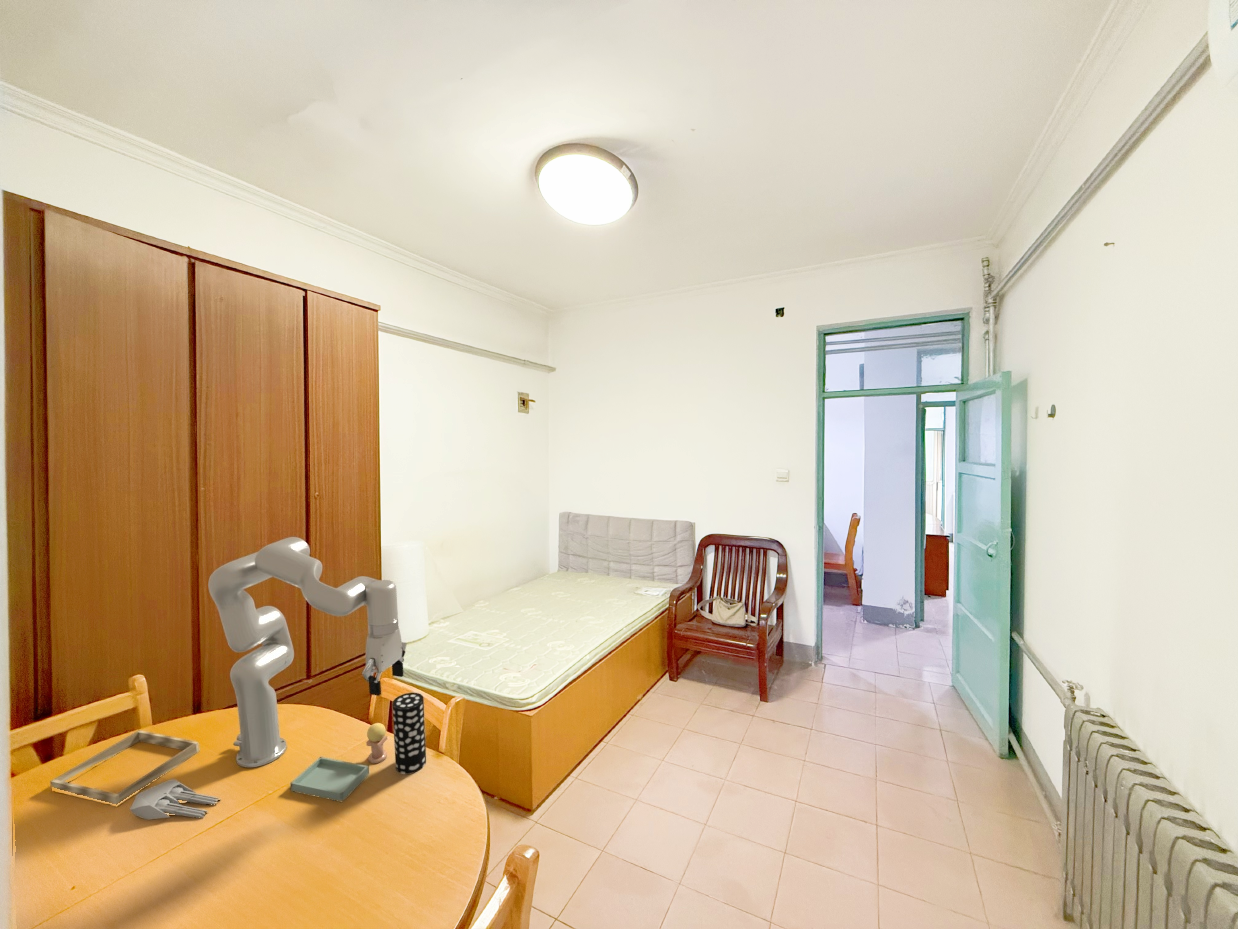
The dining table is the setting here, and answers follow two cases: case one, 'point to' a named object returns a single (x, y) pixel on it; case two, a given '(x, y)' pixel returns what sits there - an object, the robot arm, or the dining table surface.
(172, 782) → the turret
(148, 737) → the frame
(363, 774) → the tray
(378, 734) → the ball
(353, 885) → the dining table surface
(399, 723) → the white-spotted black cylinder
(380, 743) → the egg cup
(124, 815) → the dining table surface
